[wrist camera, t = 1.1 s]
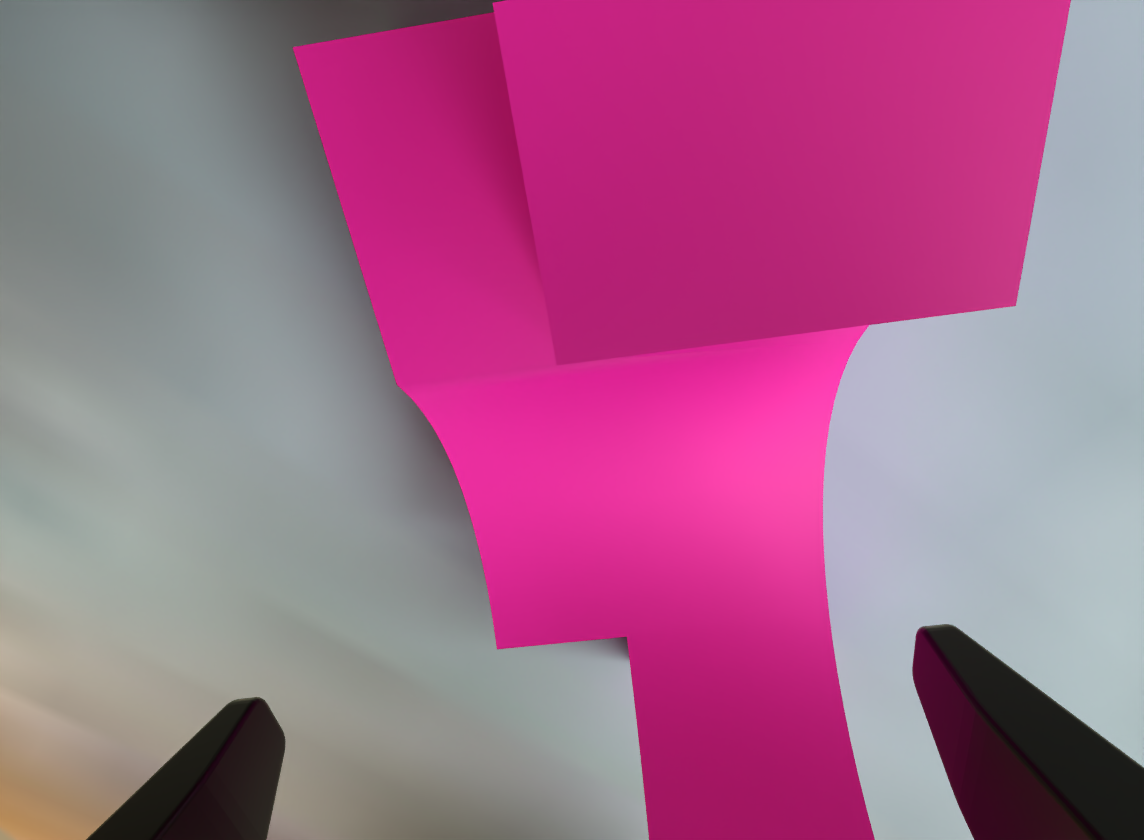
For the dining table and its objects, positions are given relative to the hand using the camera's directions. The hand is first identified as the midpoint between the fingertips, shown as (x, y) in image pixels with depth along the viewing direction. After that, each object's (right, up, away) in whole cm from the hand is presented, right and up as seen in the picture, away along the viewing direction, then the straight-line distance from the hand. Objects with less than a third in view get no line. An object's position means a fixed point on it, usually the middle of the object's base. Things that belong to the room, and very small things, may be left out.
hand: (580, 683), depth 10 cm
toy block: (+1, +4, +5) cm, 7 cm away
